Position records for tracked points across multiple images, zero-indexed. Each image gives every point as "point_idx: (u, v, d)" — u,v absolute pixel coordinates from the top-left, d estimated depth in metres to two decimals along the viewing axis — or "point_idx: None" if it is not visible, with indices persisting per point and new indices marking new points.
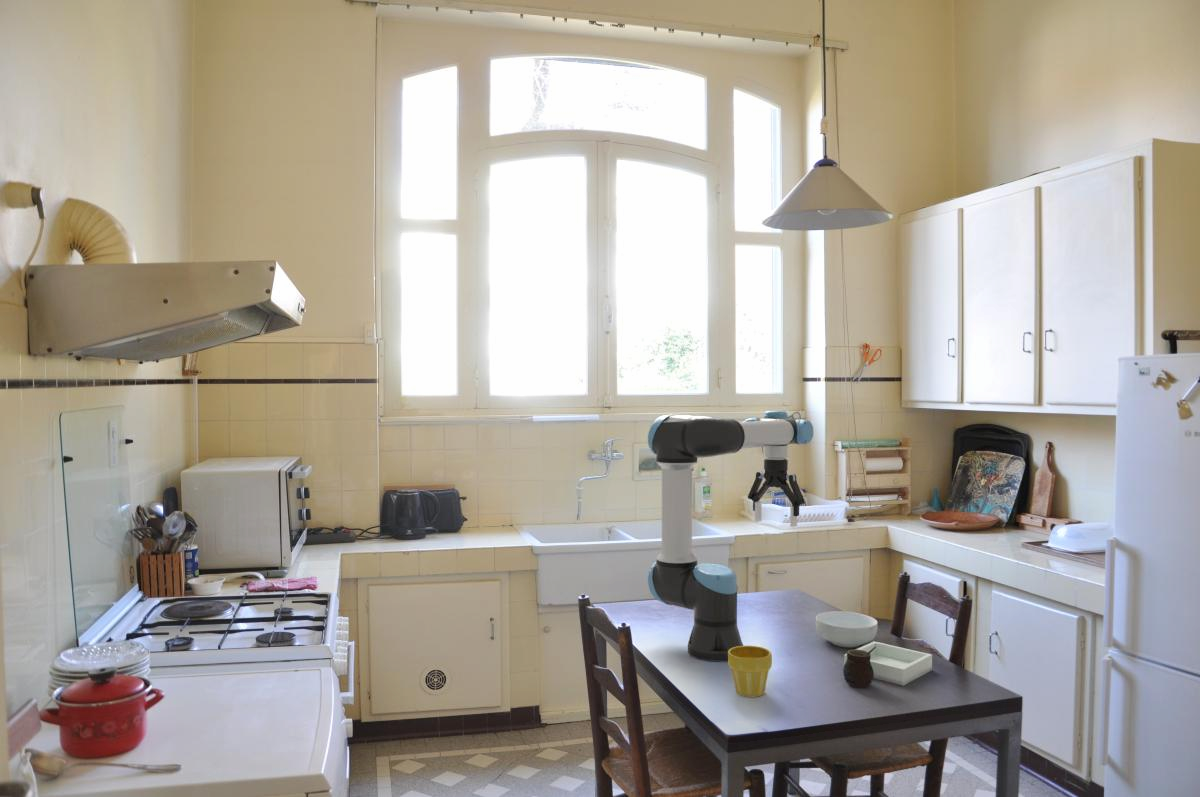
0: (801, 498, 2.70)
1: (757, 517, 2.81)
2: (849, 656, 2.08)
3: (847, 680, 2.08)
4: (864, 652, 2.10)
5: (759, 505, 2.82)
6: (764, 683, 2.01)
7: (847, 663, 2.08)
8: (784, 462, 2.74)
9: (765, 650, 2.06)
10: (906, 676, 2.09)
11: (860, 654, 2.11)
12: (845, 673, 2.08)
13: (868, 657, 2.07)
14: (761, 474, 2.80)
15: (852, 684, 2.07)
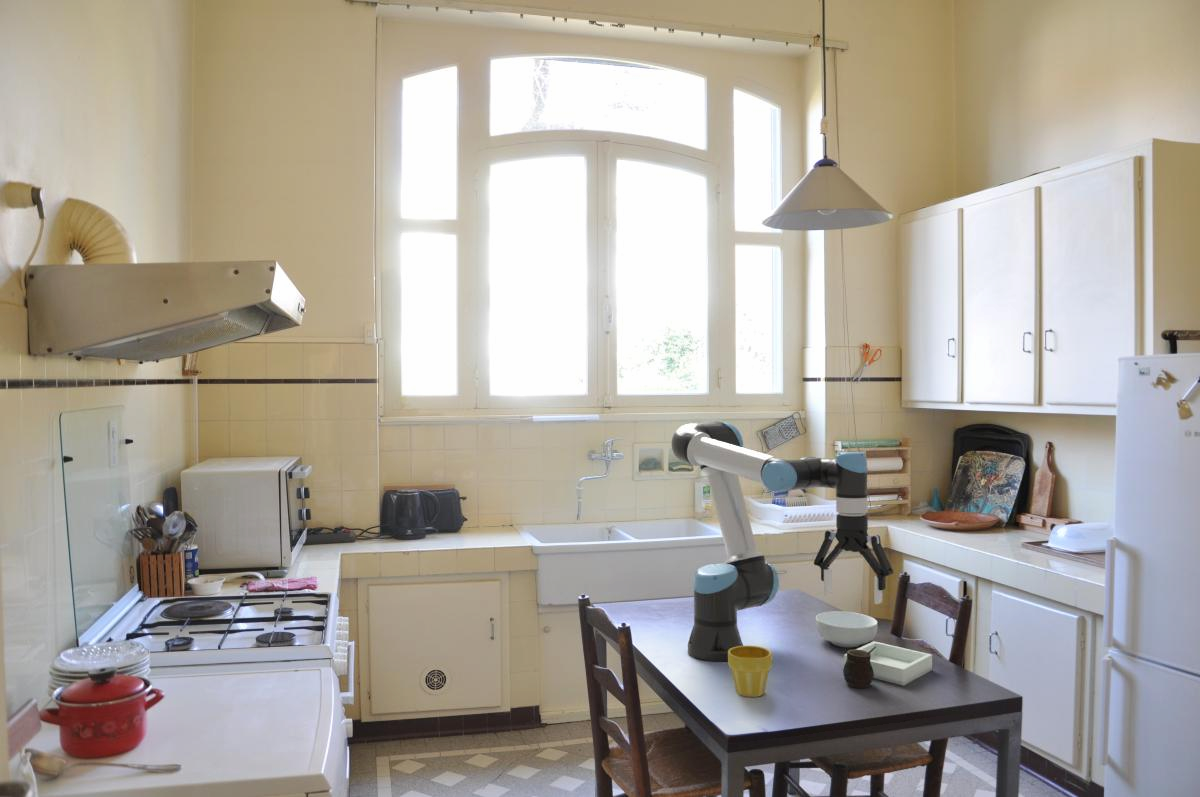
0: (888, 567, 2.07)
1: (827, 589, 2.17)
2: (849, 656, 2.08)
3: (847, 680, 2.08)
4: (864, 652, 2.10)
5: (829, 573, 2.18)
6: (764, 683, 2.01)
7: (847, 663, 2.08)
8: (864, 519, 2.10)
9: (765, 650, 2.06)
10: (906, 676, 2.09)
11: (860, 654, 2.11)
12: (845, 673, 2.08)
13: (868, 657, 2.07)
14: (832, 534, 2.17)
15: (852, 684, 2.07)
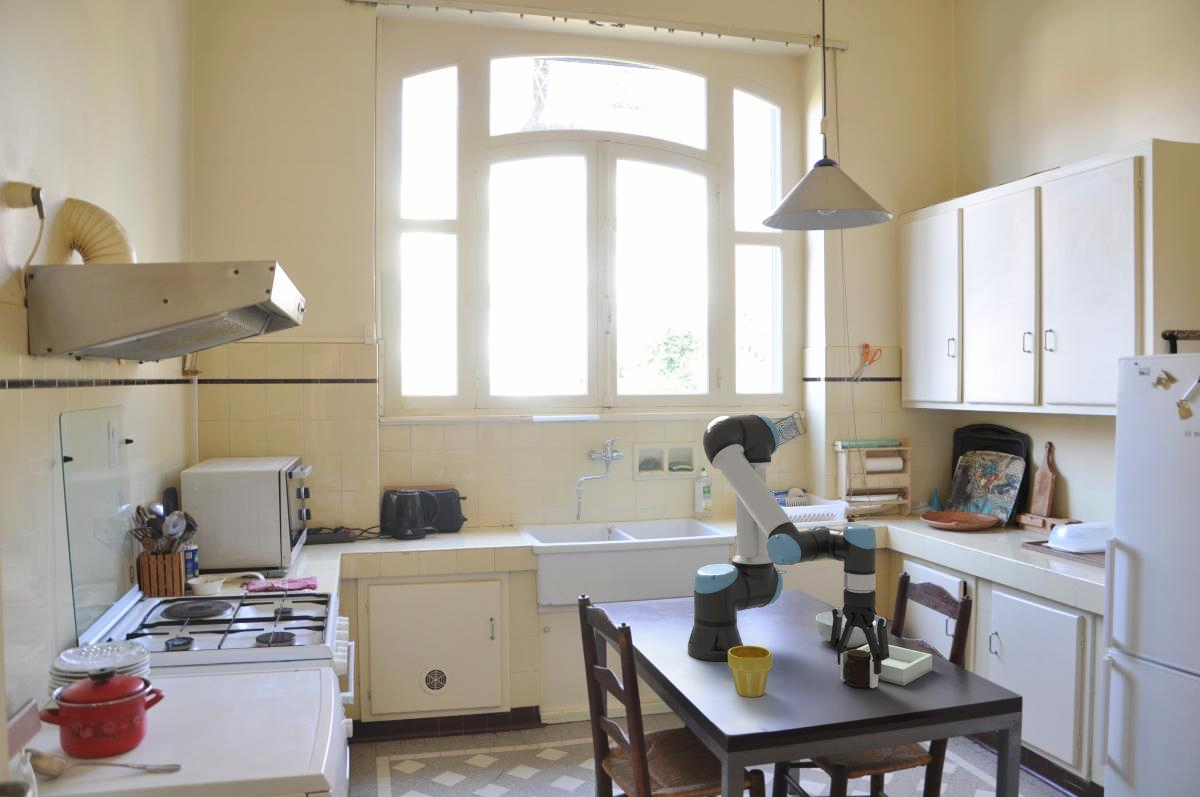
0: (886, 652, 2.04)
1: (843, 673, 2.11)
2: (849, 656, 2.08)
3: (847, 680, 2.08)
4: (864, 652, 2.10)
5: (846, 657, 2.11)
6: (764, 683, 2.01)
7: (847, 663, 2.08)
8: (872, 596, 2.05)
9: (765, 650, 2.06)
10: (906, 676, 2.09)
11: (860, 654, 2.11)
12: (845, 673, 2.08)
13: (868, 657, 2.06)
14: (839, 611, 2.12)
15: (852, 684, 2.07)
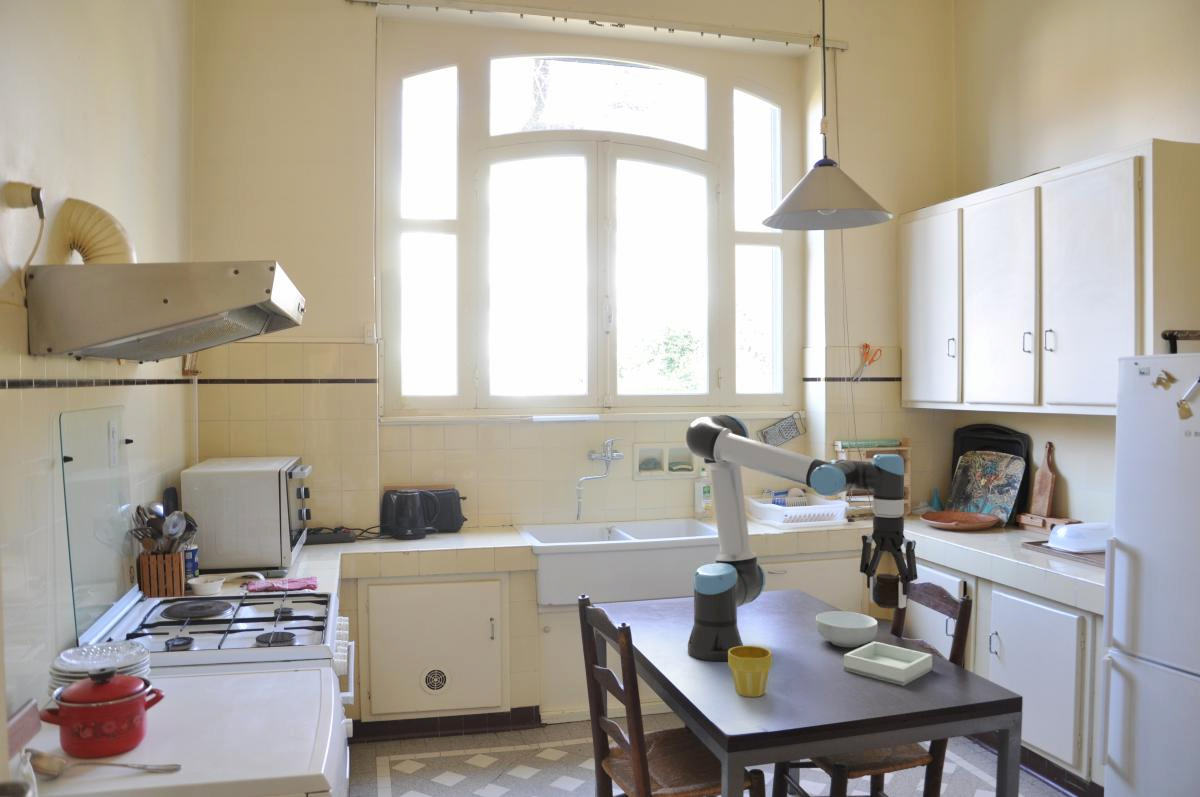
0: (914, 573, 2.14)
1: None
2: (879, 578, 2.18)
3: (877, 601, 2.17)
4: (893, 575, 2.20)
5: (875, 581, 2.21)
6: (764, 683, 2.01)
7: (877, 585, 2.18)
8: (900, 520, 2.15)
9: (765, 650, 2.06)
10: (906, 676, 2.09)
11: (889, 578, 2.20)
12: (875, 595, 2.18)
13: (897, 579, 2.16)
14: (868, 537, 2.22)
15: (882, 605, 2.17)
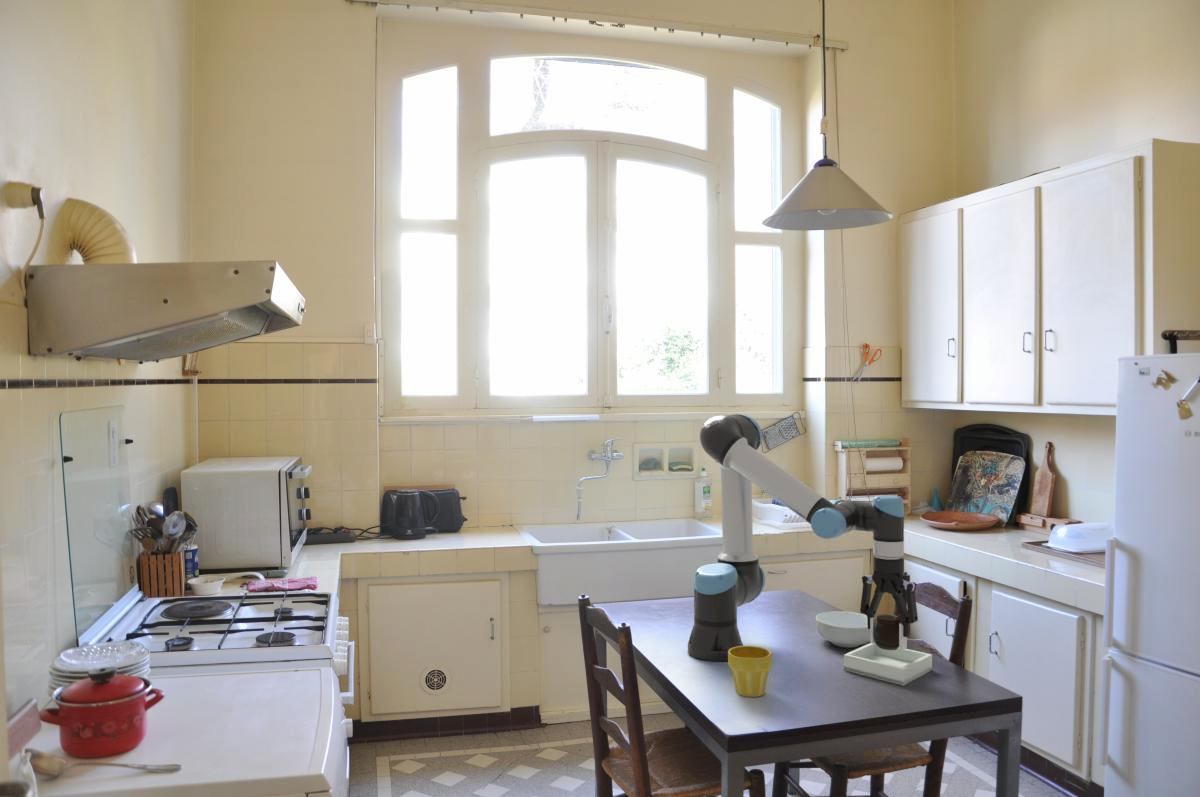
0: (915, 615, 2.14)
1: (873, 637, 2.21)
2: (879, 620, 2.18)
3: (877, 643, 2.18)
4: (893, 616, 2.20)
5: (876, 622, 2.22)
6: (764, 683, 2.01)
7: (877, 627, 2.19)
8: (901, 562, 2.16)
9: (765, 650, 2.06)
10: (906, 676, 2.09)
11: (889, 618, 2.21)
12: (875, 636, 2.18)
13: (897, 621, 2.17)
14: (868, 578, 2.22)
15: (882, 646, 2.17)
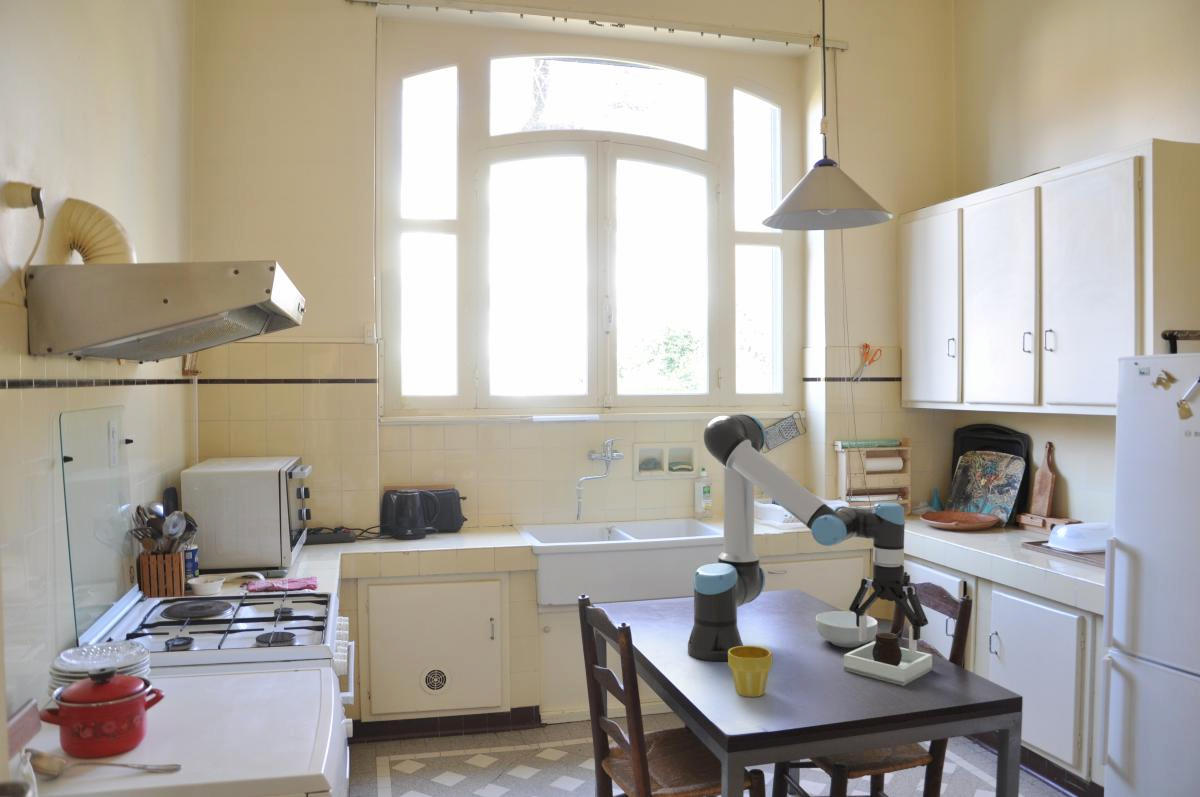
0: (924, 618, 2.12)
1: (862, 635, 2.23)
2: (878, 638, 2.18)
3: None
4: (892, 635, 2.21)
5: (864, 620, 2.24)
6: (764, 683, 2.01)
7: (876, 645, 2.19)
8: (900, 570, 2.16)
9: (765, 650, 2.06)
10: (906, 676, 2.09)
11: (888, 637, 2.21)
12: (874, 654, 2.19)
13: (896, 639, 2.17)
14: (868, 582, 2.22)
15: None
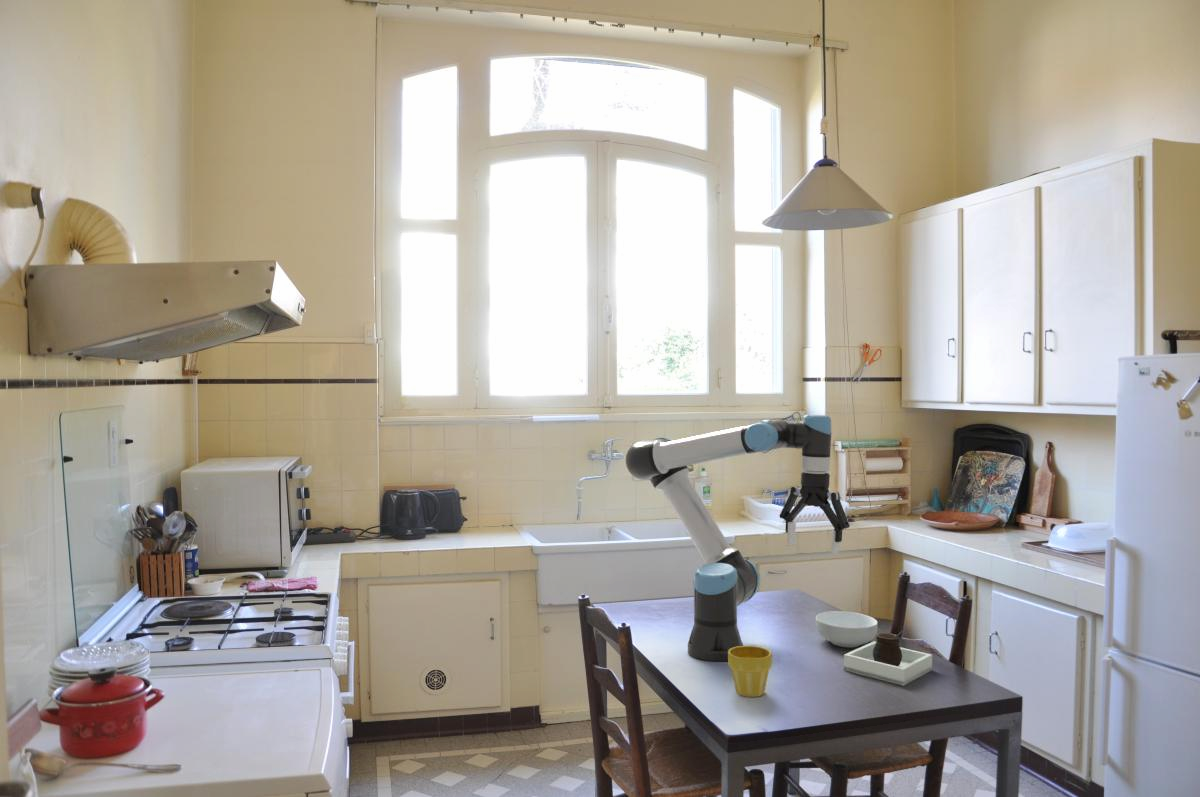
0: (845, 521, 2.25)
1: (790, 540, 2.37)
2: (878, 639, 2.18)
3: None
4: (893, 635, 2.20)
5: (793, 526, 2.37)
6: (764, 683, 2.01)
7: (876, 645, 2.19)
8: (826, 477, 2.29)
9: (765, 650, 2.06)
10: (906, 676, 2.09)
11: (889, 637, 2.21)
12: (874, 655, 2.19)
13: (897, 640, 2.17)
14: (797, 490, 2.35)
15: None
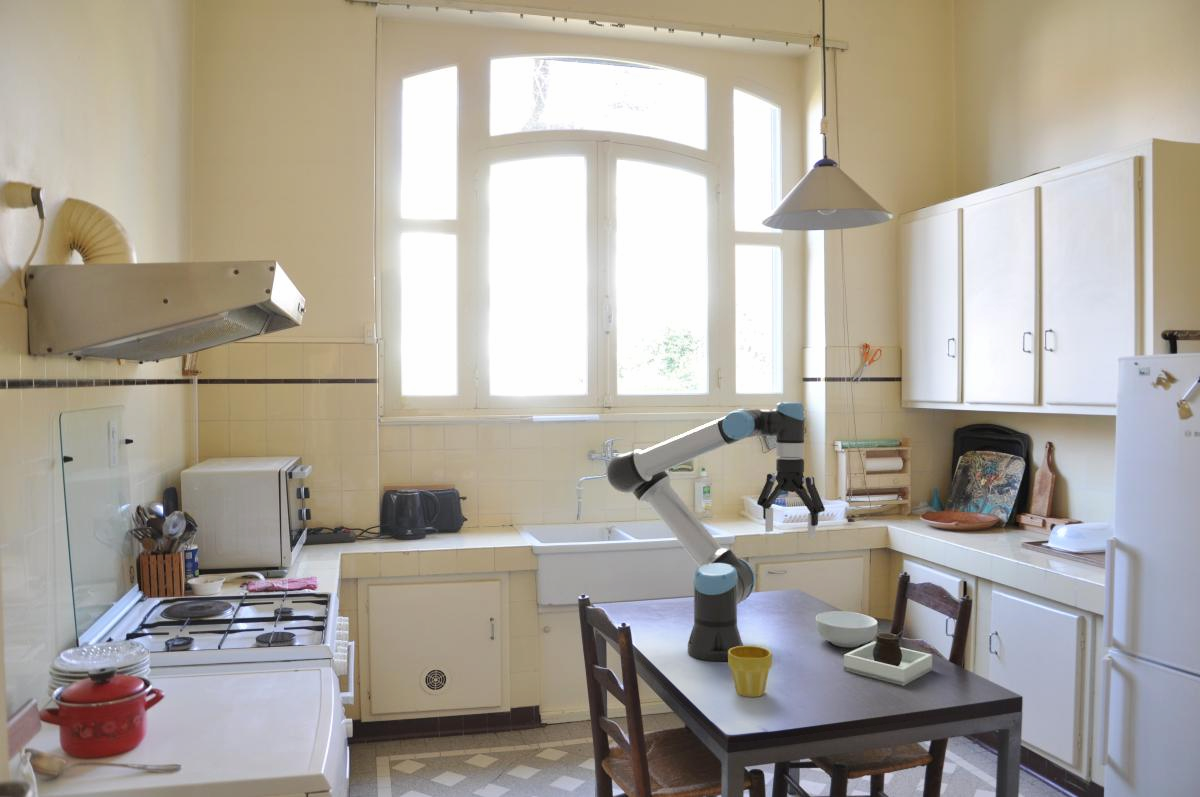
0: (820, 505, 2.30)
1: (768, 526, 2.41)
2: (878, 639, 2.18)
3: None
4: (893, 635, 2.20)
5: (770, 512, 2.42)
6: (764, 683, 2.01)
7: (876, 645, 2.19)
8: (800, 462, 2.34)
9: (765, 650, 2.06)
10: (906, 676, 2.09)
11: (889, 637, 2.21)
12: (874, 655, 2.19)
13: (897, 640, 2.17)
14: (773, 476, 2.40)
15: None
